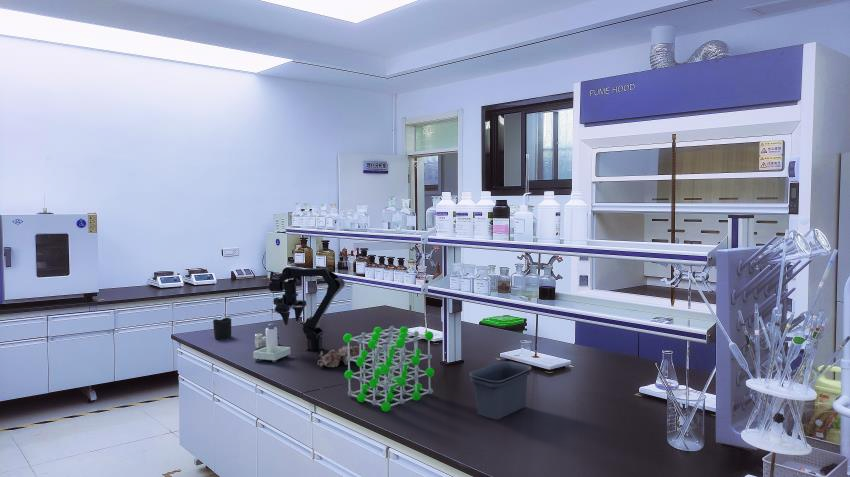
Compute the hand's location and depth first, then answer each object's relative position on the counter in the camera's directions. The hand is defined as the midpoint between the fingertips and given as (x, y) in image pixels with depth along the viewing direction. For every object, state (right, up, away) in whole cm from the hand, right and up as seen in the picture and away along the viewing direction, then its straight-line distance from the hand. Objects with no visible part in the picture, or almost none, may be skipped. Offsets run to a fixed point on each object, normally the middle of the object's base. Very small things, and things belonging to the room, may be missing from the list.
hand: (291, 323), depth 287 cm
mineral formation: (+29, -15, -28) cm, 43 cm away
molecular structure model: (+53, -17, -73) cm, 92 cm away
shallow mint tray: (-5, -14, -17) cm, 23 cm away
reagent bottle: (-5, -12, -18) cm, 22 cm away
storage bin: (+92, -17, -90) cm, 129 cm away
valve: (-15, -13, +9) cm, 22 cm away
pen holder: (-44, -12, +29) cm, 54 cm away
